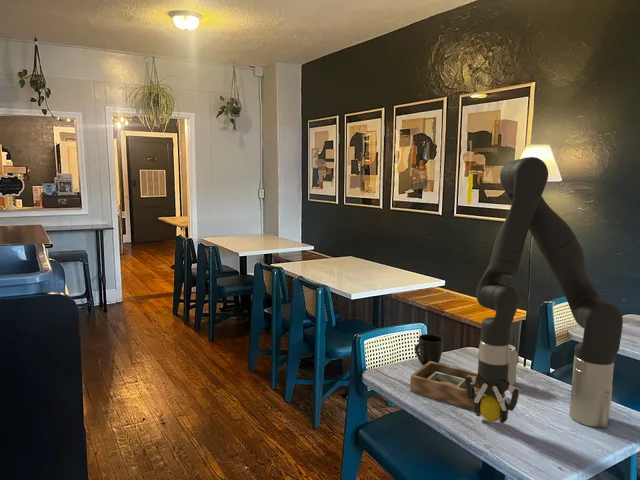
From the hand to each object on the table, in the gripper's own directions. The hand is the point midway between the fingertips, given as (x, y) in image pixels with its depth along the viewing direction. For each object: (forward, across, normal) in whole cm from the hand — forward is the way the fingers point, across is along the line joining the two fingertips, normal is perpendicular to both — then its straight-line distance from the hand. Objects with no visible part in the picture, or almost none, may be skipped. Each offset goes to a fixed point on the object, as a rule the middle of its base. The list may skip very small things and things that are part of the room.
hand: (490, 418), depth 127 cm
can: (+2, +4, -27) cm, 27 cm away
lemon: (+1, 0, 0) cm, 1 cm away
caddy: (+1, +14, -11) cm, 18 cm away
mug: (+1, +29, -25) cm, 38 cm away
